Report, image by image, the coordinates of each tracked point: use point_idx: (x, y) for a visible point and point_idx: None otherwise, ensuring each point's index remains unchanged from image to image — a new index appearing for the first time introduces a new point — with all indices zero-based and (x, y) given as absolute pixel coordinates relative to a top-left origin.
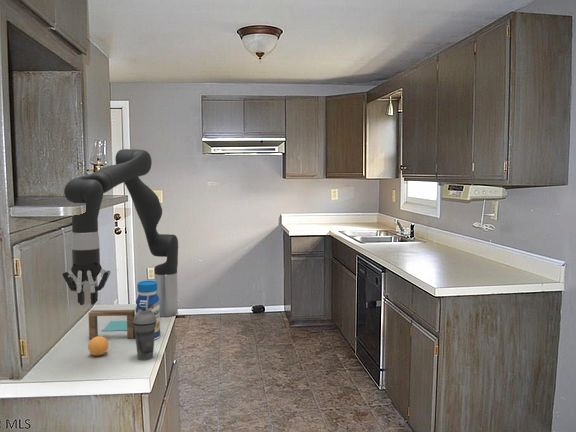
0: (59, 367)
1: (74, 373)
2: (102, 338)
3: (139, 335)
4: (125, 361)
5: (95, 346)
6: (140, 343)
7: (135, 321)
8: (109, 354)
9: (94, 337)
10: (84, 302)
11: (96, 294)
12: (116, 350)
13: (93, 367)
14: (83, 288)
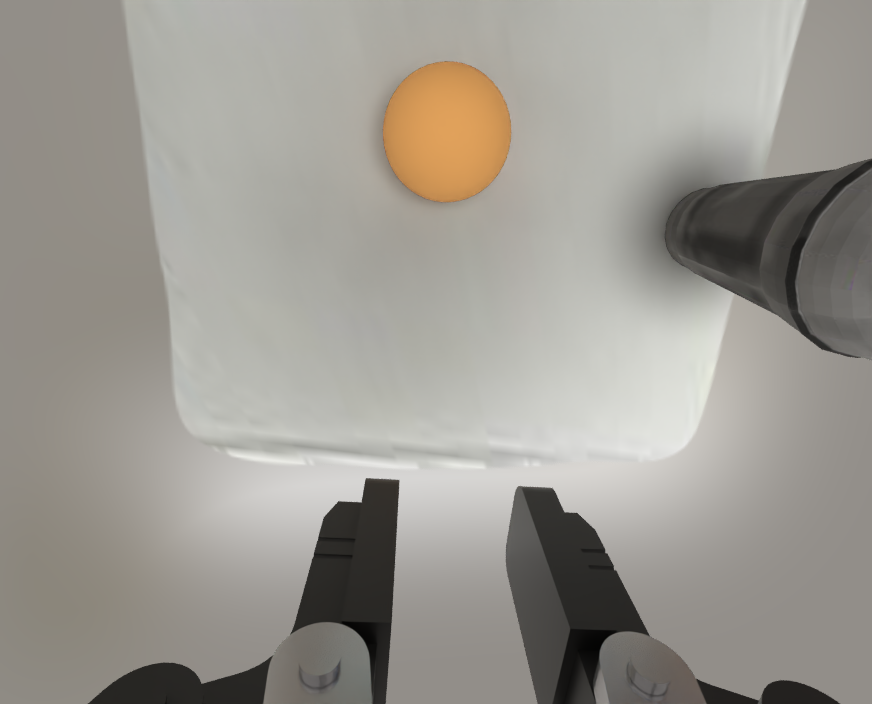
0: (281, 300)
1: (380, 382)
2: (483, 145)
3: (768, 310)
4: (600, 269)
5: (441, 200)
6: (736, 293)
7: (827, 332)
8: None
9: (422, 124)
10: (398, 484)
11: (622, 625)
12: (538, 70)
13: (452, 325)
14: (369, 681)
